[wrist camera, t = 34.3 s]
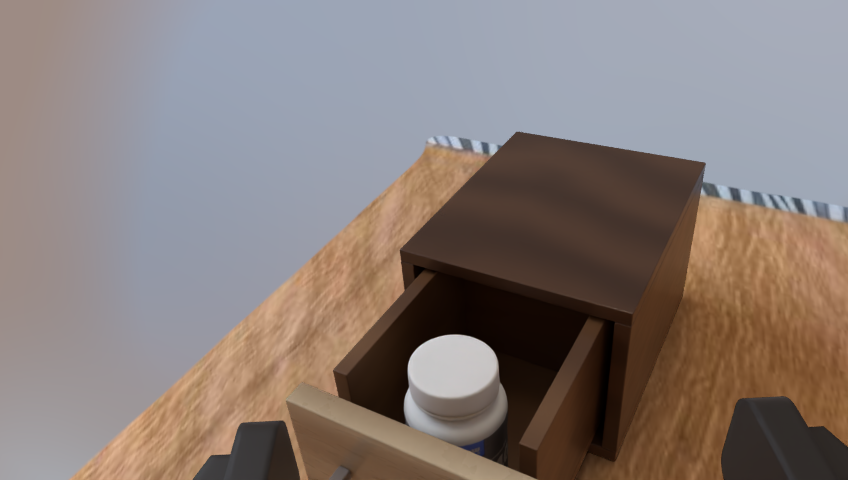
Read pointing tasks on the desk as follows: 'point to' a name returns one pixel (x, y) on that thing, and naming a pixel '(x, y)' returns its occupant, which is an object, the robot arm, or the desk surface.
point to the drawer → (519, 375)
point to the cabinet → (576, 246)
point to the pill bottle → (459, 396)
